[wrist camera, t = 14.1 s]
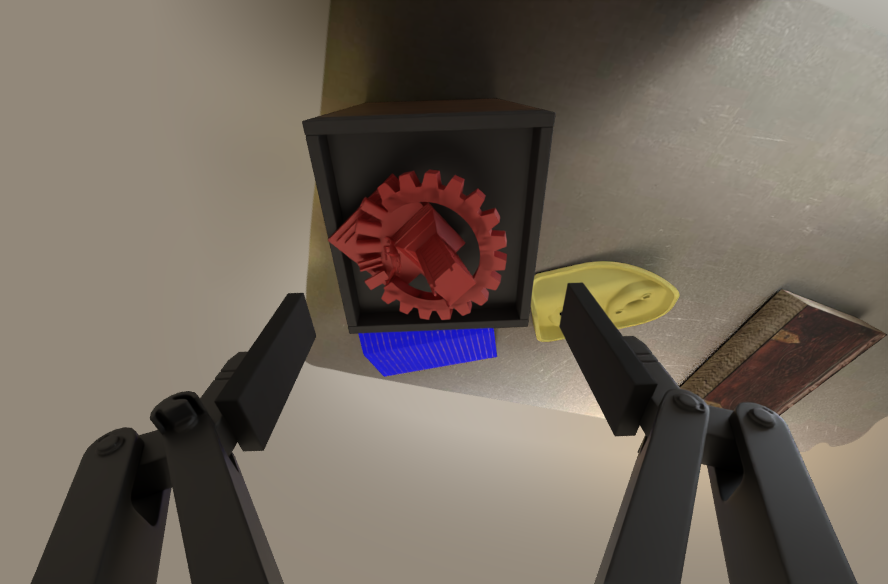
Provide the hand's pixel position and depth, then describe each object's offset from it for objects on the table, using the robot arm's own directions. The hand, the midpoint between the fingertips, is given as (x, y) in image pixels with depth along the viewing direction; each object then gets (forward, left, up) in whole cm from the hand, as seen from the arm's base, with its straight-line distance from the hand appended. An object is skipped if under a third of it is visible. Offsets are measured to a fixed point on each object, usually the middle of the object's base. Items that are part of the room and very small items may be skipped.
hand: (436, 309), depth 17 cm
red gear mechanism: (0, -2, -11) cm, 11 cm away
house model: (+23, -2, -32) cm, 40 cm away
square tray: (0, 0, -12) cm, 12 cm away
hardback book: (+37, +59, -32) cm, 77 cm away
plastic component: (+20, +24, -32) cm, 45 cm away
